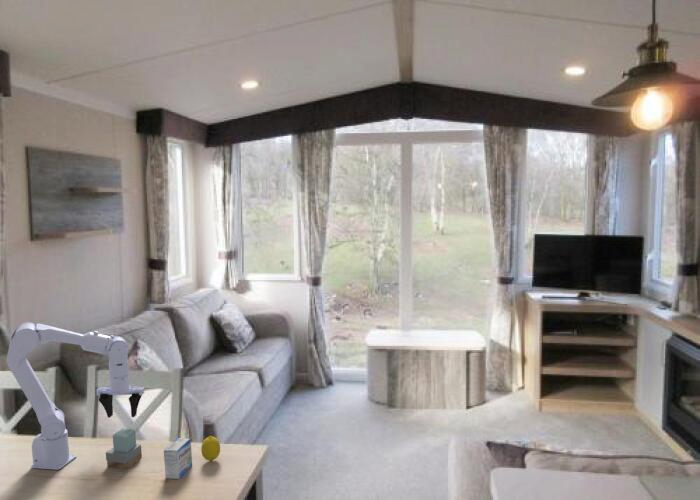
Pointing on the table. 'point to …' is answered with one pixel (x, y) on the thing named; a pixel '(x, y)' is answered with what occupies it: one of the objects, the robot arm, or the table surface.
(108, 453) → the gray block
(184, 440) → the medicine box
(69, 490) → the table surface
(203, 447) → the lemon
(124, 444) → the teal block
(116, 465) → the walnut block
